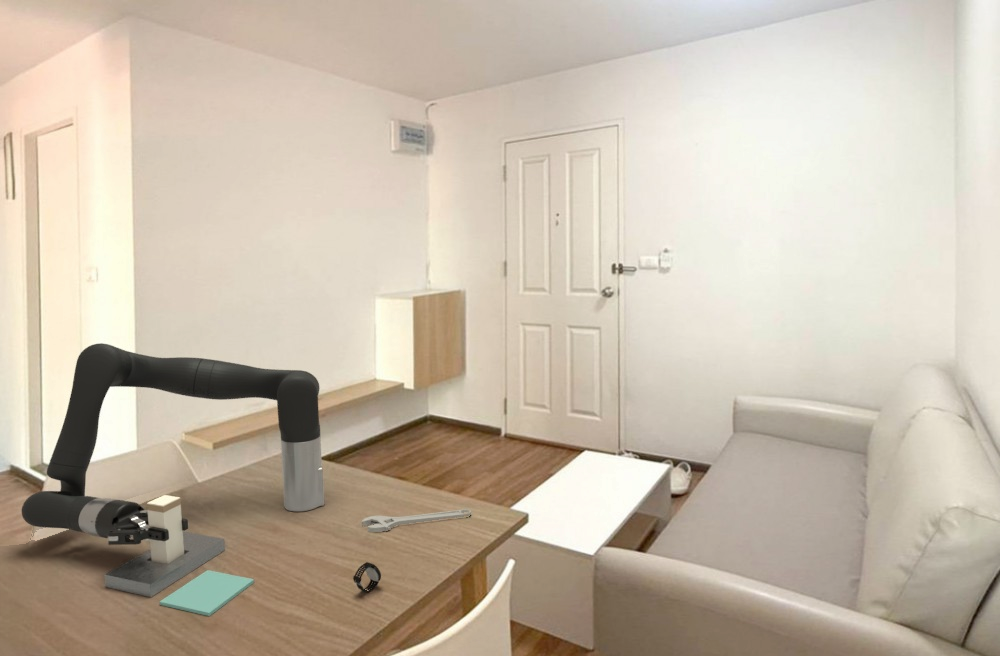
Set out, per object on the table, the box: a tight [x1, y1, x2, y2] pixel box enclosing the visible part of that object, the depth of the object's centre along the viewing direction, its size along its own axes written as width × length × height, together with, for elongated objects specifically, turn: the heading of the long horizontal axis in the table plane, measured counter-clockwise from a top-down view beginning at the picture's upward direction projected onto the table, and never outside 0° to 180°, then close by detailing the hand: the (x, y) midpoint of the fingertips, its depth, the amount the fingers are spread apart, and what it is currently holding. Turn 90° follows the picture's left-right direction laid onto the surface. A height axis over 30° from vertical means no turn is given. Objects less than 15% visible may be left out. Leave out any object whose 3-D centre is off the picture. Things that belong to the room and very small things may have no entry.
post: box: [146, 494, 184, 564], centre depth 116 cm, size 4×4×14 cm
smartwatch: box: [352, 561, 382, 594], centre depth 108 cm, size 4×5×5 cm
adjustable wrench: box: [361, 508, 472, 533], centre depth 135 cm, size 25×6×2 cm, turn 101°
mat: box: [159, 569, 255, 617], centre depth 107 cm, size 11×11×1 cm
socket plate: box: [104, 531, 226, 598], centre depth 116 cm, size 18×11×2 cm, turn 162°
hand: (176, 530), depth 115 cm, fingers closed on post, 4 cm apart
